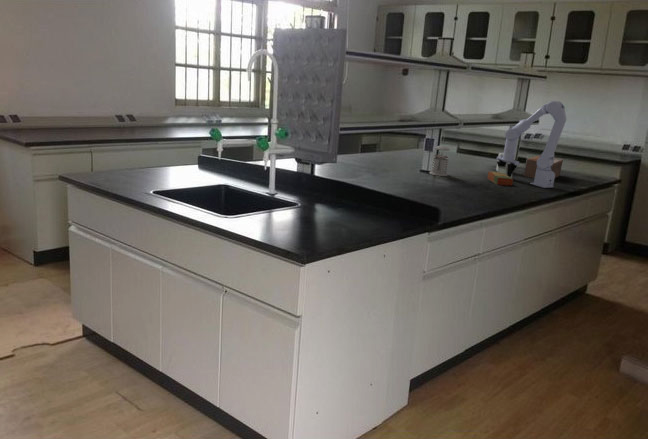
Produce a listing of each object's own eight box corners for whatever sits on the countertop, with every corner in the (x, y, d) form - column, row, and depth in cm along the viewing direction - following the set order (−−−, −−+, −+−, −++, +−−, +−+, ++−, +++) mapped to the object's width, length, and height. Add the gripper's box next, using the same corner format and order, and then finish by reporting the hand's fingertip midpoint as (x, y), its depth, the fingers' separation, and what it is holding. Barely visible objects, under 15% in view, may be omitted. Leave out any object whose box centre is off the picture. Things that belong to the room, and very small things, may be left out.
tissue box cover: (549, 181, 323) (553, 163, 320) (523, 176, 330) (527, 159, 327) (559, 176, 344) (563, 159, 341) (534, 171, 351) (538, 155, 348)
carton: (501, 180, 312) (503, 172, 311) (512, 186, 296) (513, 178, 295) (486, 178, 311) (488, 170, 310) (496, 185, 296) (498, 177, 295)
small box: (509, 171, 340) (512, 154, 337) (511, 173, 334) (514, 155, 332) (495, 170, 340) (498, 152, 337) (497, 171, 335) (500, 153, 332)
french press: (448, 173, 312) (455, 127, 305) (446, 177, 301) (454, 129, 295) (430, 171, 314) (437, 125, 308) (427, 174, 304) (435, 127, 297)
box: (511, 179, 315) (513, 168, 314) (504, 179, 313) (506, 168, 311) (504, 177, 320) (506, 166, 318) (497, 177, 317) (499, 166, 315)
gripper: (524, 153, 308) (520, 178, 312) (504, 148, 320) (500, 172, 324) (515, 153, 305) (510, 178, 308) (495, 148, 317) (491, 172, 320)
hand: (504, 175), depth 316 cm, fingers closed on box, 5 cm apart
